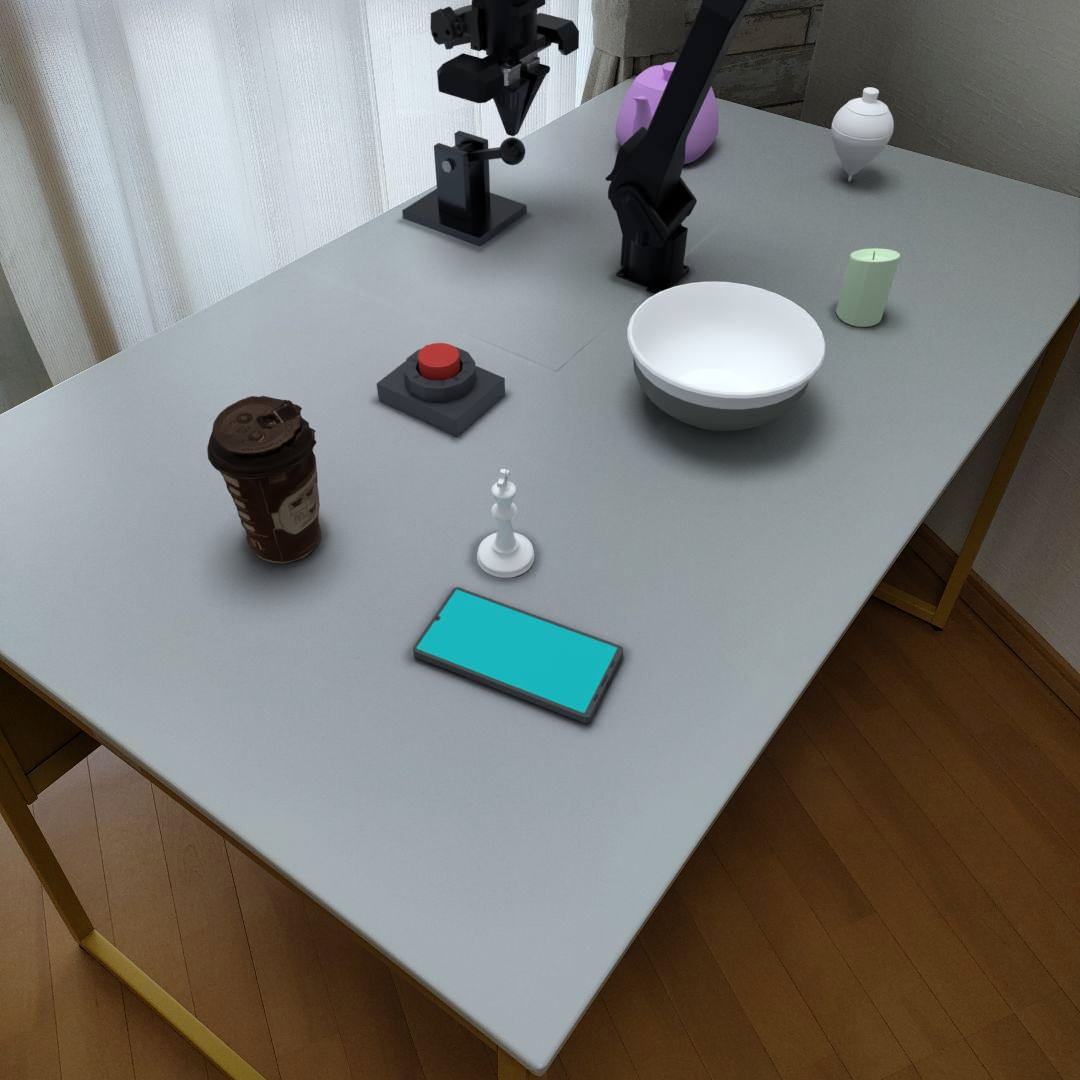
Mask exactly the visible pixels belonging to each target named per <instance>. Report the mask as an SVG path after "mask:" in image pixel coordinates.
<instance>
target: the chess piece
mask: <svg viewBox="0 0 1080 1080" xmlns="http://www.w3.org/2000/svg"><path fill="white" fill-rule="evenodd" d="M510 475H511V470H509V469H505V468H500V471H499V479H498V480H497V482H495V483H494V484H493V485H492V487H491V489H490V490H491V491H490V492H491V494H492V497H493V498H494V500H495V503H494V504H493V505H492V508H491V515H492V517H494V519H497V528H496V532H493V533H492V534H491V533H490V534H489V535H487V536H486V537H485V538H484V539H483V540H482V541H481V542H480V544H479V546H478V547H477V554H476V560H477V563H478V566H479V567H480V569H481V570H482V571H484V572H485V573H487V574H488V575H490V576H492V577H496V578H501V579H502V578H503V579H509V578H514V577H518V576H520V575H522V574H524V573H526V572H527V571H529V569H531V567H532V566H533V564H534V562H535V552H534V547H533V544H532V542H531V541H530V539H528V538H527V537H526V536H524V535H523V534H521V533H519V532H515V531H514V529H513V524H512V519H514V518H515V517H516V516H517V515H518V510H519V509H518V507H517V505H516V504H515V503H514V502H513V501H514V498H515V496H516V495H517V486H516V485H515V483H513V482H511V481H508V479H509V477H510Z"/></svg>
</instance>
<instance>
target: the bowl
mask: <svg viewBox="0 0 1080 1080" xmlns="http://www.w3.org/2000/svg"><path fill="white" fill-rule="evenodd" d="M626 329H627V330H626V332H627V333H626V335H627V342H628V345H629V348H630V350H631V353H632V357H633V358H632V359H633V360H632V361H633V371H634V374H635V376H636V379H637V381H638V383H639V385H640V386H641V388H642V390H643V392H644V394H646V396H647V397H648V398H649V400H650V401H651V402H652V403H653V404H654V405H655V406H656V407H657V408H659V409H660V410H661V411H663V412H664V413H666V414H668V415H669V416H671V417H672V418H674V419H675V420H677V421H680V422H682V423H684V424H686V425H689V426H692V427H695V428H700V429H702V430H710V431H716V432H717V431H718V432H723V431H724V432H725V431H726V432H732V431H742V430H748V429H752V428H755V427H759V426H764V425H766V424H768V423H770V422H773V421H775V420H777V419H779V418H780V417H782V416H783V415H784V414H786V413H787V412H788V411H789V410H791V408H793V407H794V406H795V405H797V403H798V402H799V401H800V399H801V398H802V397H803V396H804V395H805V393H806V391H807V389H808V386H809V384H810V380H811V379H812V377H814V375H815V373H817V371H818V370H819V369H820V368H821V367H822V364H823V362H824V359H825V357H826V345H827V344H826V341H825V337H824V334H823V332H822V329H821V328H820V327H819V324H818V323H817V321H816V319H814V318H813V317H812V316H811V315H810V314H809V313H808V312H807V311H806V310H805V309H804V308H803V307H801V306H799V305H798V304H797V303H795V302H794V301H793V300H790V299H788V298H786V297H784V296H782V295H780V294H778V293H775V292H773V291H770V290H767V289H765V288H762V287H758V286H753V285H750V284H745V283H739V282H738V283H737V282H730V281H699V282H690V283H685V284H680V285H674V286H673V287H671V288H669V289H666V290H664V291H661V292H659V293H655V294H654V295H652V296H649V297H648V298H647V299H646V300H644V301H643V303H641V304H640V305H639V306H638V307H637V308H636V310H635V311H634V312H633V314H632V315H631V317H630V319H629V321H628V325H627V328H626Z"/></svg>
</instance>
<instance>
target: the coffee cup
mask: <svg viewBox="0 0 1080 1080" xmlns="http://www.w3.org/2000/svg"><path fill="white" fill-rule="evenodd" d="M302 410H303V408H302V407H301V406H300V405H298V404H295V403H293V402H292V400H289V399H288V400H287V399H282V398H281V399H280V398H275V397H271V396H266V395H261V396H257V395H252V396H251V395H250V396H248V397H245V398H241V399H240V400H237V401H236V402H234V403H232V404H230V405H228V406H226V408H224V409H222V410H221V412H219V414H218V415H217V416H216V418H215V419H214V421H213V424H212V430H211V434H210V436H209V440H208V444H207V447H206V449H207V453H206V454H207V460H208V461H209V462H210V464H211V466H212V467H213V468H214V469H215V470H216V471H218V472H219V473H220V475H221V476H222V478H223V481H224V483H225V485H226V489H227V492H228V493H229V494H230V496H231V498H232V502H233V504H234V506H235V507H236V511H237V514H238V517H239V519H240V524H241V526H242V528H243V529H244V531H245V534H246V543H247V545H248V548H249V549H250V550H251V551H252V552H253V553H254V554H255V555H256V556H257V557H258V558H260V559H261V560H263V561H266V562H268V563H274V564H287V563H291V562H294V561H299V560H300V559H303V558H305V557H306V556H308V555H309V554H311V553H312V551H314V550H315V548H316V547H317V546H318V545H319V543H320V541H321V537H322V529H321V524H320V521H319V520H320V519H319V513H320V508H321V507H320V506H321V504H320V503H321V502H320V492H319V486H318V483H319V482H318V479H319V478H318V467H317V458H316V454H315V453H314V447H315V446H316V445H317V440H316V435H315V433H316V429H314V428H312V427H310V423H309V421H307V420H306V419H305V418H303V417H302Z"/></svg>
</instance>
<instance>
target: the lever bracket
mask: <svg viewBox="0 0 1080 1080" xmlns="http://www.w3.org/2000/svg"><path fill="white" fill-rule="evenodd" d="M453 136H454V146H455V145H460V144H467V143H473V146H474V149H475V150H480V149H489V139H487V138H484V137H481V136H477V135H474V134H472V133H469V132H465V131H462V130H457V131H456V132H454V135H453ZM433 154H434V156H433V157H434V168H435V181H436V182H435V183H436V188H435V189H434V190H432V191H430V192H429V193H426V195H424V196H422V197H421V198H418V200H416V201H414V202H413V203H412V204H409V205H408V206H407V207H405V208H403V209H402V210H401V213H402V219H404V220H406V221H409V222H411V223H415V224H418V225H420V226H422V227H425V228H428V229H431V230H433V231H436V232H438V233H442V234H444V235H447V236H450V237H452V238H454V239H458V240H461V241H462V242H466V243H468V244H470V245H473V246H476V247H479V248H480V247H482V246H483V245H484V244H486V243H487V242H489V241H490V240H491V239H493V238H494V237H495V236H497V235H498V234H500V233H501V232H502V231H503V230H505V229H506V228H508V227H509V226H510V225H512V224H513V223H514V222H516V221H517V220H519V219H520V218H521V217H523V216H525V215H526V214H527V212H528V209H527V207H528V205H527V204H525V203H522V202H520V201H516V200H513V199H511V198H507V197H505V196H502V195H499V194H496V193H493V192H491V184H490V183H491V181H490V179H491V177H490V160H481V161H478V162H479V163H477V164H476V165H474V166H473V167H471V168H470V169H469V166H468V152H465V151H462V150H459V149H456V148H453V146H450V145H446V144H444V143H442V142H441V143H440V142H437V143H436V144H434V145H433Z"/></svg>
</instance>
